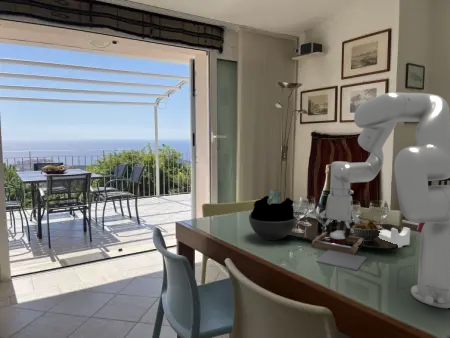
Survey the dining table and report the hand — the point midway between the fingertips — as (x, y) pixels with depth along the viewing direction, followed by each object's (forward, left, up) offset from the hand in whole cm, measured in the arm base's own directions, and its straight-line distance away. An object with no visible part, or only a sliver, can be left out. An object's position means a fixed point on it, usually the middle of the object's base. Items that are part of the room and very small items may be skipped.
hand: (338, 235), depth 140 cm
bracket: (+17, -17, -5) cm, 25 cm away
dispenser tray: (0, 0, -4) cm, 4 cm away
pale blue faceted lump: (+25, +44, -5) cm, 51 cm away
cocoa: (0, 0, -4) cm, 4 cm away
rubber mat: (-16, -6, -4) cm, 18 cm away
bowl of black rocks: (-8, +26, -4) cm, 28 cm away
